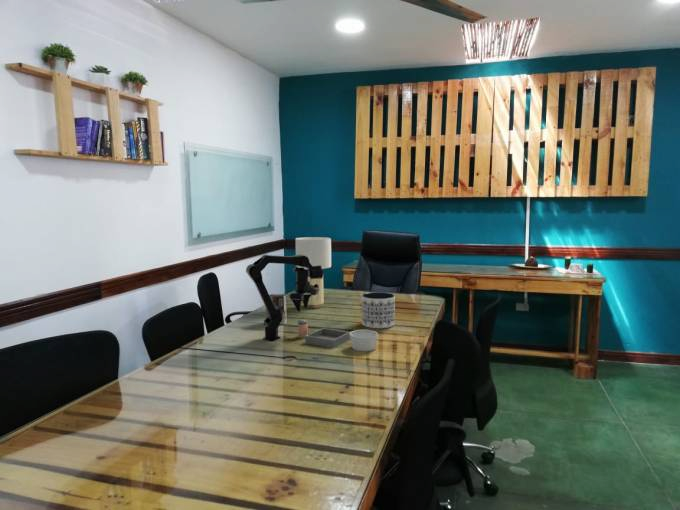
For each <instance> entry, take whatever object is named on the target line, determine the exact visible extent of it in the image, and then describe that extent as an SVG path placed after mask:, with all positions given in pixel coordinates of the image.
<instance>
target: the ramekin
mask: <svg viewBox="0 0 680 510" xmlns="http://www.w3.org/2000/svg"><path fill="white" fill-rule="evenodd" d="M349 332H350V346H351V348H352V350H354V351H358V352H370V351H373V350H375V349H376V348H377V344H378V336H379V334H378V332H377V331H374V330H373V329H372V330H370V329H357V330H356V329H355V330H353V331H349Z"/></svg>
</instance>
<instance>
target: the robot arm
mask: <svg viewBox="0 0 680 510" xmlns="http://www.w3.org/2000/svg"><path fill="white" fill-rule="evenodd" d="M268 264H281V265H282V264H284V265H294V268H293V269H292V271H293V272H296V281H294V282H295V283H294V284H295V285H296V289H295V290H294V292H291V293H290V294H289V300H291V301H292V303H293V305H294V306H295V307H294V308H295V309H296V311H297V312H298V313H300V312H301V308H302V304H303V307H304V309H308V308H307V306H308V302H309V299H310V297H311V296H312V295H316V294H318V291H319V285H318V284H315V285H314V286H313V285H310V282H309V281H308V277H310V279H321V278H322V277H323V278H324V272H323V269H322V268H321V266H320V265H317V266H312V265H311V264H310V262H309V258H308V257H307V256H304V255H296V254H295V255H289V256H288V255H271V254H264V255H262V256H261V257H260V258H259V259H256V260H255V261H254V262H253V263H251V264H248V265H247V266H246V269H245V271H246V273H247V276H249V278H250V279H251V281H252V282H253V283H254V284H255V285H254V286H255V287H256V290H257V291H258V294H259V296H260V297H261V300H262V301H263V304H264V306H265V307H264V308H265V311H266V315H267V317H266V318H265V319H264V320H263V324H264V326H265V327H264V335H265V336H264V337H262V340H266V341H271V342H274V341H276V340H278V339H280V338H281V336H279V327H280V325H281V324H280V323H281V321H282V316H281V315H282V314H281V311H280V308H279V307H277V306H274V304H273V302H272V300H271V298H270V296H269V295H270V294H269V292H268V289H267V288H266V285H265V283H264V280H263V275H262V271H264V270H265V268H266V267H267V266H268ZM296 265H297V266H301V267H306V268H308V269H304V268H298V267H297V266H296Z"/></svg>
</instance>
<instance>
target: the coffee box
mask: <svg viewBox="0 0 680 510" xmlns="http://www.w3.org/2000/svg"><path fill="white" fill-rule="evenodd" d="M269 296H270V298H271V300H272V302H273V304H274V306H277V307H279V308H280V311H281V314H282V315H281V316H282V321H281V323H280V324H279V325H286V324H287V322H288V319H287V318H288V315H287V313H288V312H287V294H286V293H271V294H269Z"/></svg>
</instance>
